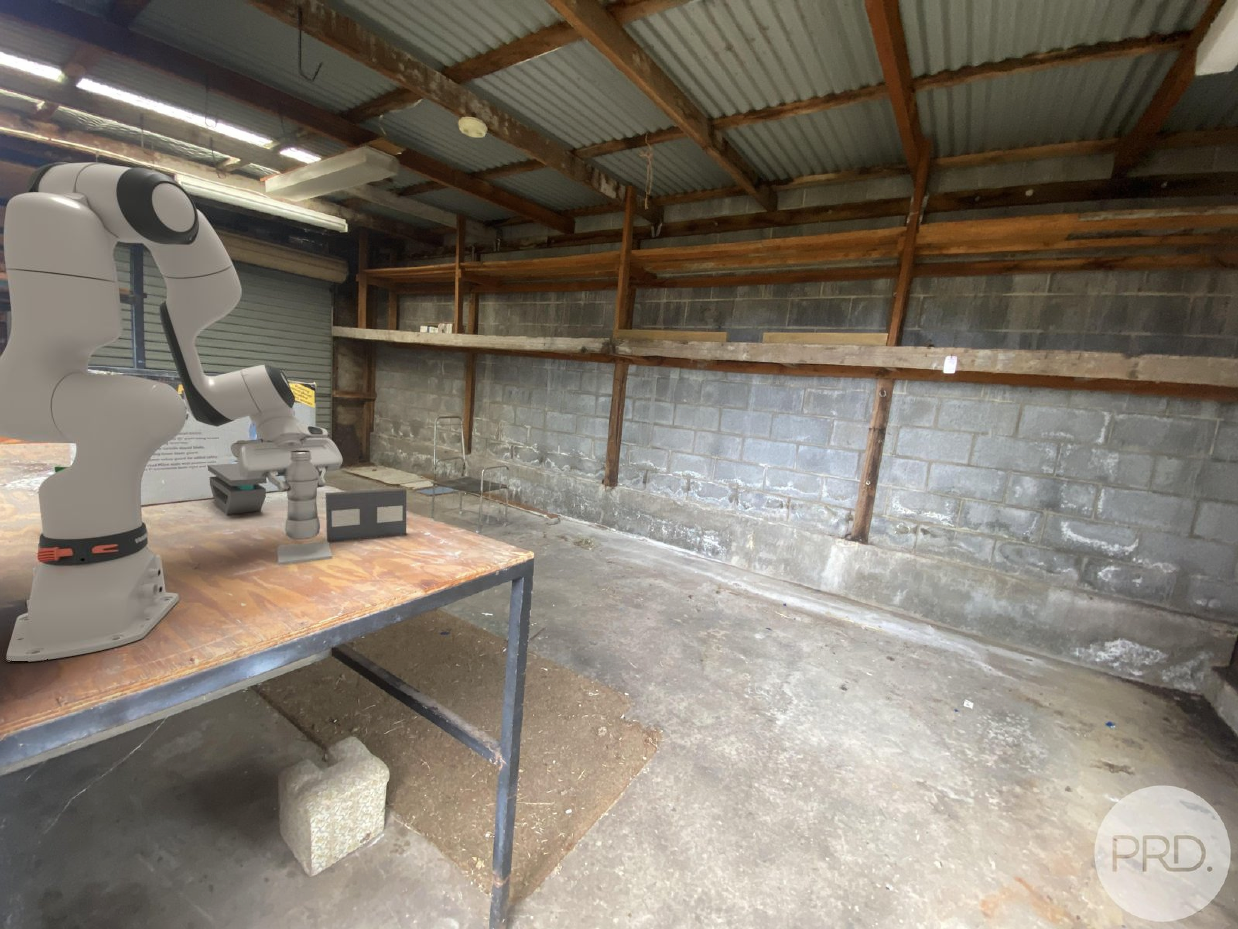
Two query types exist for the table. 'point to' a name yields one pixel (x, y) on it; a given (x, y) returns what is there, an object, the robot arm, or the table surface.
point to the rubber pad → (303, 552)
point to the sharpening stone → (235, 490)
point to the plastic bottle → (302, 497)
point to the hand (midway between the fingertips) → (303, 488)
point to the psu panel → (365, 514)
